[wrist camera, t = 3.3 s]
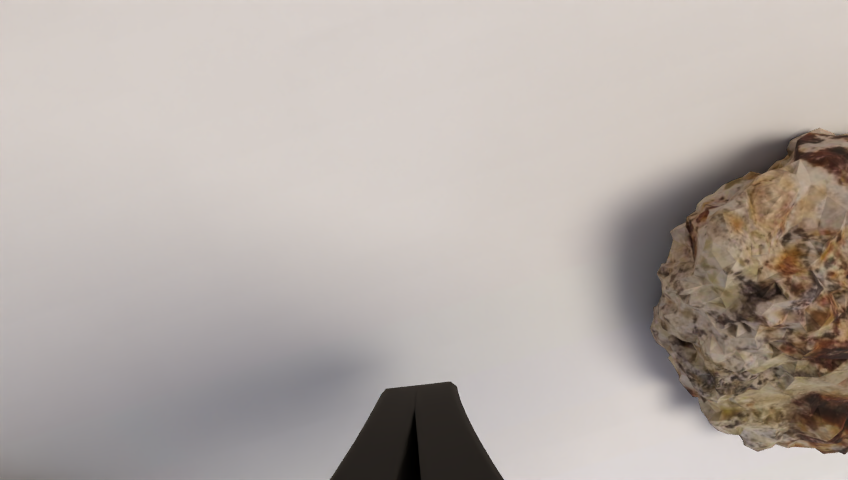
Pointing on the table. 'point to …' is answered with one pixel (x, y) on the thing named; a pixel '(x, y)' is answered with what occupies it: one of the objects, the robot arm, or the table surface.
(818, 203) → the mineral rock
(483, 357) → the table surface
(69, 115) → the table surface
